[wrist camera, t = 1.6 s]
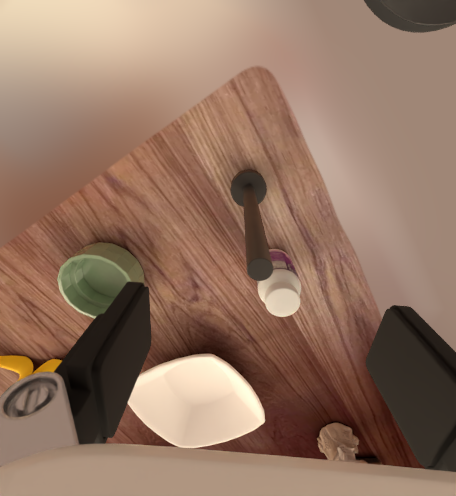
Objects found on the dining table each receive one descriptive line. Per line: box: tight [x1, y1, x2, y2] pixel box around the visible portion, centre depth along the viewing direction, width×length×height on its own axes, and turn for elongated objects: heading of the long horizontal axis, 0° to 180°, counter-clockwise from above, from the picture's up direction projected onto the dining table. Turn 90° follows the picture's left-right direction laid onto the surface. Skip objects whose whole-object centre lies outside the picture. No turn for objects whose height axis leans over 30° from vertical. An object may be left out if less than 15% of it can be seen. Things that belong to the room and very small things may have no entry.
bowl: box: [128, 354, 265, 448], centre depth 47 cm, size 22×22×5 cm
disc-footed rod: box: [231, 170, 273, 281], centre depth 24 cm, size 4×4×22 cm
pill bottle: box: [257, 249, 301, 317], centre depth 34 cm, size 5×5×10 cm
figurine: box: [317, 423, 368, 464], centre depth 45 cm, size 9×8×20 cm
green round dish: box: [57, 242, 144, 318], centre depth 38 cm, size 11×11×4 cm
